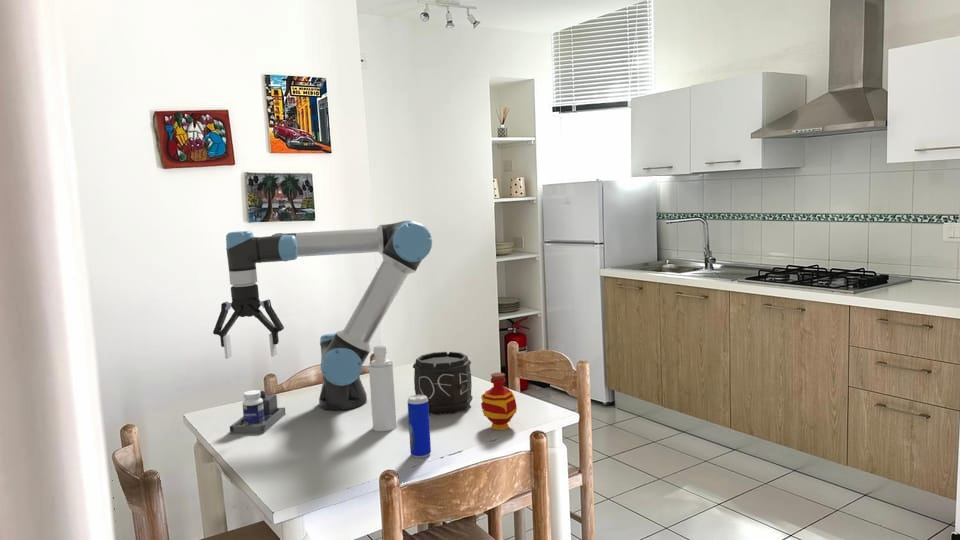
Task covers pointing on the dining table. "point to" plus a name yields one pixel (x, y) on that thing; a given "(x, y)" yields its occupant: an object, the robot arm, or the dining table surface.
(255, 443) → the dining table surface
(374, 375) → the spray bottle
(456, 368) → the wooden barrel
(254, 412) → the pill bottle
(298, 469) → the dining table surface
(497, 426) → the potion bottle
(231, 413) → the dining table surface
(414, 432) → the beverage can
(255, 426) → the gray tray with block
